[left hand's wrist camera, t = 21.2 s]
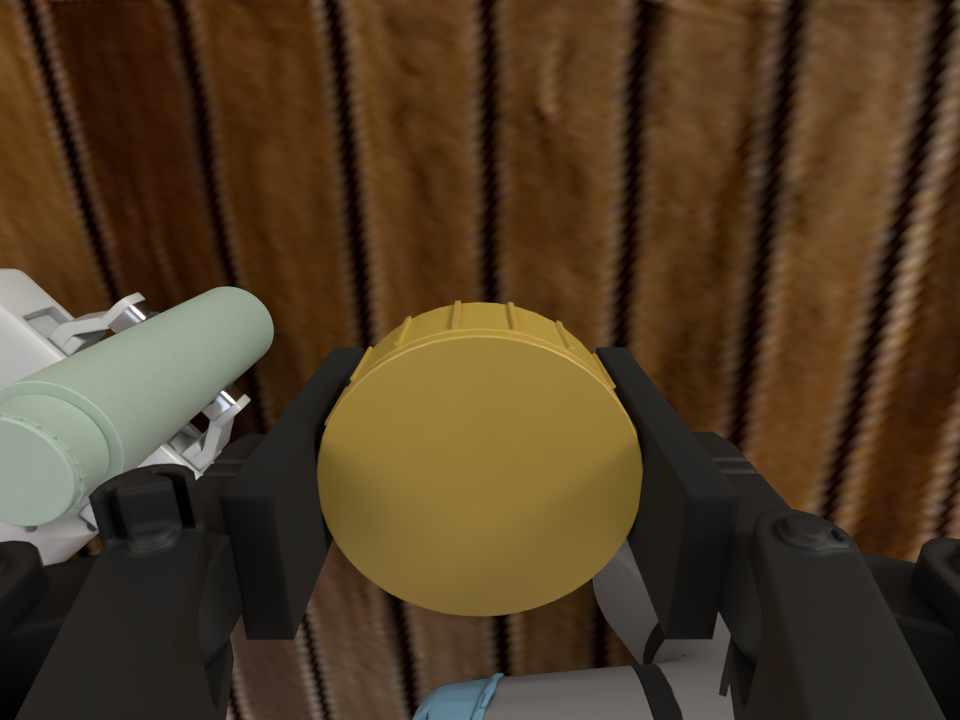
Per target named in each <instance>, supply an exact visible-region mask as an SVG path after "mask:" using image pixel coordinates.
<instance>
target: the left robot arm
mask: <svg viewBox="0 0 960 720" xmlns="http://www.w3.org/2000/svg"><path fill="white" fill-rule="evenodd" d="M596 355H597V356H598V358H599V360H600V361H601V363H602V365H603V366H604V368H605V370H606V371H607V373H608V375H609V376H610V378H611V380H612V381H613V383H614V385H615V386H616V387H615V388H614V389H613V390H614V392H615V394H616V395H617V397H618V399H619V400H620V402H621V404H622V405H623V407H624V409H625V410H626V412H627V414H628V416H629V417H630V419H631V421H632V422H633V424H634V426H635V427H636V429H637V433H638V434H637V438H638V441H639V445H640V448H641V453H642V461H643V475H642V484H641V492H640V500H639V507H638V513H637V515H636V518H635V521H634V524H633V526H632V528H631V530H630V532H629V534H628V536H627V538H626V540H625V541H624V543H623V544H622V546H621V547H620V549H619V550H618V551H617V553H616V554H615V556H614V557H613V558H612V559H611V560H610V561H609V562H608V563H607V564H606V565H605V567H604V568H603V569H602V570H601V571H599V572H598V573H597V574H596V575H595V576H594V577H592V578H591V581H592V585H593V589H594V593H595V596H596V599H597V602H598V604H599V606H600V608H601V610H602V613H603V615H604V617H605V618H606V620H607V621H608V623H609V624H610V626H611V627H612V628H613V630H614V631H615V632H616V634H617V635H618V636H619V638H620V639H621V640H622V642H623V643H624V644H625V646H626V647H627V648H628V650H629V651H630V652H631V654H632V655H633V656H634V658H635V659H636V660H637V662H638V663H639V664H640V665H634V666H620V667H608V668H597V669H586V670H575V671H564V672H552V673H541V674H530V675H519V676H507V677H505V676H504V674H502V673H496V674H494V675H493V676H492V677H491V678H487V679H480V680H473V681H467V682H460V683H453V684H447V685H444V686H441V687H439V688H437V689H435V690H434V691H432V692H431V693H430V694H429V695H428V696H427V697H426V698H425V699H424V700H423V701H422V703H421V705H420V706H419V708H418V709H417V711H416V713H415V715H414V717H413V719H412V720H960V539H953V538H938V539H931V540H929V541H928V542H926V543H925V544H924V545H922V548H921V551H920V554H919V557H918V560H917V562H916V563H912V562H907V561H902V560H897V559H892V558H887V557H882V556H877V555H872V554H868V553H864V552H860V550H859V548H858V546H857V544H856V543H855V542H854V541H853V539H852V538H851V537H850V536H849V535H848V533H846V532H845V531H843V530H842V529H841V528H839V527H838V526H836V525H835V524H833V523H832V522H830V521H827V520H825V519H823V518H821V517H818V516H816V515H814V514H810V513H806V512H802V511H799V510H795V509H791V508H790V507H789V506H788V505H787V504H786V503H785V501H784V500H783V499H782V498H781V497H780V496H779V495H778V494H777V493H776V491H775V490H774V489H773V488H772V487H771V486H770V485H769V484H768V482H767V481H766V480H765V479H764V478H763V477H762V476H761V475H760V474H757V470H756V469H755V468H754V467H753V466H752V464H751V463H750V462H747V461H746V458H745V457H744V456H743V454H742V453H741V452H740V451H739V450H738V449H737V448H736V447H735V445H734V444H732V443H730V442H729V441H727V440H725V439H724V438H722V437H720V436H719V435H717V434H715V433H713V432H691V431H690V430H689V429H688V427H687V426H686V425H685V424H684V422H683V421H682V420H681V418H680V417H679V416H678V415H677V413H676V412H675V411H674V409H673V408H672V407H671V406H670V404H669V403H668V402H667V400H666V399H665V398H664V397H663V395H662V394H661V393H660V391H659V390H658V389H657V388H656V386H655V385H654V384H653V382H652V381H651V380H650V379H649V377H648V376H647V375H646V373H645V372H644V371H643V370H642V368H641V367H640V366H639V364H638V363H637V362H636V360H635V359H634V358H633V357H632V355H631V354H630V353H629V351H628V350H627V349H626V348H596ZM363 356H364V349H363V348H333V350H332V351H331V352H330V354H329V355H328V356H327V357H326V359H325V360H324V361H323V363H322V364H321V365H320V366H319V368H318V369H317V370H316V372H315V373H314V374H313V376H312V377H311V378H310V379H309V381H308V382H307V383H306V385H305V386H304V387H303V388H302V390H301V391H300V392H299V394H298V395H297V396H296V397H295V399H294V400H293V401H292V403H291V404H290V405H289V406H288V408H287V409H286V410H285V412H284V413H283V414H282V415H281V417H280V418H279V419H278V421H277V422H276V423H275V424H274V426H273V427H272V428H271V430H270V431H269V432H268V433H267V434H246V435H244V436H243V437H241V438H239V439H238V440H236V441H234V442H233V443H231V444H229V445H228V446H226V447H225V448H224V450H223V451H222V452H221V453H220V454H219V455H218V456H217V457H216V459H215V460H214V463H213V464H210V465H209V466H208V468H207V469H206V470H205V471H204V472H203V476H200V477H199V478H198V479H197V480H196V477H195V473H194V471H193V470H191V469H190V468H189V467H187V466H185V465H180V464H174V463H166V464H153V465H148V466H144V467H139V468H135V469H132V470H129V471H127V472H124V473H122V474H119V475H116V476H114V477H112V478H111V479H109V480H107V481H106V482H104V483H102V484H101V485H99V486H98V487H97V488H96V489H95V490H94V491H93V492H92V493H91V494H90V495H89V496H88V497H89V501H90V504H91V507H92V511H93V514H94V517H95V521H96V524H97V527H98V531H99V534H100V537H101V541H102V544H103V547H102V549H101V551H100V553H99V554H98V555H94V556H90V557H85V558H80V559H75V560H70V561H65V562H60V563H55V564H50V565H45V566H44V564H43V561H42V558H41V555H40V552H39V550H38V548H37V547H36V546H35V545H33V544H32V543H30V542H26V541H16V540H12V541H5V542H0V720H226V715H227V707H228V700H229V692H230V684H231V677H232V669H233V661H234V658H233V651H232V645H231V640H230V634H231V632H232V630H233V629H234V627H235V625H236V623H237V621H238V619H239V617H240V615H241V613H242V616H243V621H244V626H245V631H246V636H247V640H279V639H294V638H295V635H296V633H297V630H298V628H299V625H300V622H301V620H302V617H303V615H304V612H305V610H306V607H307V604H308V602H309V599H310V597H311V594H312V592H313V589H314V586H315V584H316V581H317V579H318V576H319V573H320V571H321V568H322V566H323V563H324V561H325V558H326V555H327V553H328V550H329V548H330V545H331V542H332V540H333V537H332V535H331V533H330V531H329V529H328V528H327V525H326V522H325V520H324V517H323V514H322V511H321V504H320V497H319V489H318V480H317V457H318V452H319V448H320V444H321V440H322V436H323V434H324V431H325V429H326V427H327V426H324V424H325V421H326V420H327V418H328V416H329V415H330V413H331V411H332V409H333V408H334V406H335V404H336V403H337V401H338V399H339V397H340V396H341V394H342V392H343V391H344V389H345V387H346V386H347V387H348V386H349V385H350V383H351V380H350V378H351V376H352V375H353V373H354V371H355V370H356V368H357V366H358V364H359V363H360V361H361V359H362V358H363Z"/></svg>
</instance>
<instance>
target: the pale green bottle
mask: <svg viewBox="0 0 960 720" xmlns="http://www.w3.org/2000/svg"><path fill="white" fill-rule="evenodd" d="M273 335H274V327H273V322H272V319H271V316H270V314H269V312H268V310H267V309H266V307H265V306H264V305H263V303H262V302H261V301H260V300H259V299H257V298H256V297H255V296H254V295H252V294H250V293H249V292H247V291H245V290H242V289H239V288H235V287H218V288H215V289H212V290H209V291H207V292H205V293H203V294H201V295H199V296H197V297H195V298H192V299H190V300H188V301H186V302H184V303H182V304H180V305H178V306H175V307H173V308H171V309H169V310H167V311H165V312H163V313H160V314H158V315H156V316H154V317H152V318H150V319H148V320H146V321H143V322H141V323H139V324H137V325H135V326H133V327H131V328H129V329H126V330H124V331H122V332H120V333H118V334H116V335H114V336H111V337H109V338H107V339H105V340H103V341H101V342H99V343H97V344H94V345H92V346H90V347H88V348H86V349H84V350H82V351H80V352H77V353H75V354H73V355H71V356H69V357H67V358H65V359H62V360H60V361H58V362H56V363H54V364H52V365H50V366H48V367H45V368H43V369H41V370H39V371H37V372H35V373H33V374H31V375H28V376H26V377H24V378H22V379H20V380H18V381H16V382H14V383H11V384H9V385H7V386H5V387H3V388H1V389H0V522H3V523H7V524H11V525H17V526H37V525H42V524H46V523H49V522H51V521H54V520H56V519H57V518H58V519H59V518H61V517H63V516H65V515H66V514H68V513H71V512H72V511H73V510H74V509H75V508H76V507H77V506H78V505H79V504H83V503H88V502H90V501H89V497H88V496H89V495H90V494H91V493H92V492H93V491H94V490H95V489H96V488H97V487H98V486H99V485H101V484H102V483H104V482H106V481H107V480H109V479H111V478H112V477H114V476H116V475H119V474H122V473H124V472H127V471H129V470H132V469H135V468H137V467H138V466H139V465H140V464H141V463H143V462H144V461H145V460H146V459H147V458H148V457H149V456H150V455H152V454H153V453H154V452H155V451H156V450H157V449H158V448H159V447H161V446H162V445H163V444H164V443H165V442H166V441H167V440H169V439H170V438H171V437H172V436H173V435H174V434H175V433H176V432H178V431H179V430H180V429H181V428H182V427H183V426H184V425H185V424H187V423H188V422H189V421H190V420H191V419H192V418H193V417H194V416H196V415H197V414H198V413H199V412H200V411H201V410H202V409H203V408H205V407H206V406H207V405H208V404H209V403H210V402H211V401H213V400H214V399H215V397H216V396H217V395H218V394H220V393H221V392H222V391H223V390H224V389H225V388H226V387H227V386H229V385H230V384H231V383H232V382H234V381H235V380H236V379H237V378H238V377H240V376H241V375H242V374H243V373H244V372H245V371H246V370H248V369H249V368H250V367H251V366H252V365H253V364H254V363H255V362H257V361H258V360H259V359H260V358H261V357H262V356H263V355H264V354H265V353H266V352H267V351H268V349H269V348H270V346H271V344H272V341H273Z"/></svg>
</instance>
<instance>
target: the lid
mask: <svg viewBox="0 0 960 720" xmlns="http://www.w3.org/2000/svg"><path fill="white" fill-rule="evenodd" d="M350 380H351V383H350V385H349V386H348V387H347V386H346V387H345V389H344V391H343V392H342V394H341V396H340V397H339V399H338V401H337V403H336V404H335V406H334V408H333V409H332V411H331V413H330V415H329V416H328V418H327V420H326V421H325V424H324V426H327V427H326V429H325V431H324V434H323V436H322V440H321V444H320V448H319V452H318V457H317V480H318V489H319V497H320V504H321V511H322V514H323V517H324V520H325V522H326V525H327V528H328V529H329V531H330V533H331V535H332V537H333V539H334V540H335V542H336V544H337V545H338V547H339V548H340V549H341V551H342V552H343V553H344V555H345V556H346V558H347V559H348V560H349V561H350V562H351V563H352V564H353V565H354V566H355V567H356V568H357V569H358V570H359V571H360V572H361V573H362V574H363V575H365V576H366V577H367V578H368V579H369V580H371V581H372V582H373V583H374V584H376V585H378V586H379V587H381V588H382V589H384V590H385V591H387V592H388V593H390V594H392V595H394V596H396V597H398V598H400V599H402V600H404V601H406V602H409V603H412V604H414V605H417V606H420V607H423V608H426V609H430V610H434V611H438V612H442V613H448V614H455V615H462V616H496V615H505V614H511V613H517V612H522V611H526V610H529V609H533V608H537V607H540V606H542V605H545V604H547V603H550V602H553V601H555V600H557V599H559V598H561V597H563V596H565V595H567V594H569V593H571V592H573V591H574V590H576V589H577V588H579V587H580V586H582V585H583V584H585V583H586V582H588V581H589V580H590V579H591V578H592V577H594V576H595V575H596V574H597V573H598V572H599V571H601V570H602V569H603V568H604V567H605V565H606V564H607V563H608V562H609V561H610V560H611V559H612V558H613V557H614V556H615V554H616V553H617V551H618V550H619V549H620V547H621V546H622V544H623V543H624V541H625V540H626V538H627V536H628V534H629V532H630V530H631V528H632V526H633V524H634V521H635V518H636V515H637V513H638V507H639V500H640V492H641V484H642V475H643V461H642V453H641V448H640V445H639V441H638V438H637V434H638V433H637V429H636V427H635V426H634V424H633V422H632V421H631V419H630V417H629V416H628V414H627V412H626V410H625V409H624V407H623V405H622V404H621V402H620V400H619V399H618V397H617V395H616V394H615V392H614V390H613V389H614V388H615V387H616V386H615V385H614V383H613V381H612V380H611V378H610V376H609V375H608V373H607V371H606V370H605V368H604V366H603V365H602V363H601V361H600V360H599V358H598V356H597V355H596V354H595V353H593V354H592V355H591V354H590V352H589V351H588V350H587V349H586V348H585V347H584V346H583V345H582V343H581V342H580V341H578V340H577V339H576V338H575V337H574V336H573V335H571V334H570V333H569V332H568V331H567V330H565V329H564V327H563V325H562V323H561V322H560V321H558V320H557V321H556V323H554V322H553V321H551V320H549V319H547V318H545V317H543V316H540V315H538V314H536V313H534V312H531V311H528V310H525V309H521V308H518V307H514V303H511V302H508V305H503V304H498V303H479V302H477V303H464V304H461V301H455V305H451V306H446V307H441V308H438V309H435V310H432V311H429V312H426V313H423V314H421V315H419V316H417V317H415V318H413V319H412V318H411V317H410V316H409V317H407V318H406V319H405V321H404V323H403V324H402V325H400V326H399V327H397V328H396V329H395V330H393V331H392V332H390V333H389V334H388V335H387V336H386V337H385V338H383V339H382V340H381V341H380V342H379V343H378V344H377V345H376V346H375V347H374V348H372V347H371V346H370V347H369V348H368V349H367V351H366V353H365V354H364V356H363V358H362V359H361V361H360V363H359V364H358V366H357V368H356V370H355V371H354V373H353V375H352V376H351V378H350Z"/></svg>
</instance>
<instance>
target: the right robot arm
mask: <svg viewBox="0 0 960 720" xmlns="http://www.w3.org/2000/svg"><path fill="white" fill-rule="evenodd" d="M158 314H159V312H158V311H157V310H156V309H155V308H154V307H153V306H152V305H151V304H150V303H149V302H148V301H147V300H146V299H145V298H144V297H143V296H142V295H141V294H140V293H135V294H132V295H130V296H127V297H125V298H123V299H122V300H120V301H119V302H118V303H116V304H115V305H114V306H113V307H112V308H111V309H110V310H109V311H103V312H97V313H90V314H86V315H84V316H81V317H79V318H76V319H75V318H74V317H73V316H71V315H70V314H69V313H68V312H67V311H66V310H65V309H64V308H63V307H61V306H60V305H59V304H58V303H57V302H56V301H55V300H54V299H53V298H51V297H50V296H49V295H48V294H47V293H46V292H45V291H44V290H43V289H42V288H40V287H39V286H38V285H37V284H36V283H35V282H34V281H33V280H32V279H31V278H30V277H28V276H27V275H26V274H25V273H24V272H22V271H20V270H17V269H0V389H1V388H3V387H5V386H7V385H9V384H11V383H14V382H16V381H18V380H20V379H22V378H24V377H26V376H28V375H31V374H33V373H35V372H37V371H39V370H41V369H43V368H45V367H48V366H50V365H52V364H54V363H56V362H58V361H60V360H62V359H65V358H67V357H69V356H71V355H73V354H75V353H77V352H80V351H82V350H84V349H86V348H88V347H90V346H92V345H94V344H97V343H99V342H100V341H99V340H100V339H101V338H102V337H103V336H104V335H105V334H106V333H107V332H106V330H105V329H111V330H113V331H114V332H115V333H116V334H118V333H120V332H122V331H124V330H126V329H129V328H131V327H133V326H135V325H137V324H139V323H141V322H143V321H146V320H148V319H150V318H152V317H154V316H156V315H158ZM249 401H250V399H249V398H248V397H247V396H246V395H245V394H244V393H243V392H242V391H241V390H240V389H239V388H238V387H237V386H236V385H235V384H234V383H233V382H232V383H231V384H230V385H229V386H227V387H226V388H225V389H224V390H223V391H222V392H221V393H220V394H218V395H217V396H216V397H215V399H214V400H213V401H211V402H210V403H209V404H208V405H207V406H206V407H205V408H203V409H202V410H201V412H203V413H204V414H205V415H206V416H207V417H208V418H209V419H210V420H211V421H210V424H209V428H208V430H207V431H205V432H204V433H203V434H202V433H201V432H200V431H199V430H198V429H197V428H196V427H195V426H193V425H192V424H191V423H190V422H188V423H187V424H185V425H184V426H183V427H182V428H181V429H180V430H179V431H178V432H176V433H175V434H174V435H173V436H172V437H171V438H170V439H169V440H167V441H166V442H165V443H164V444H163V445H162V446H161V447H159V448H158V449H157V450H156V451H155V452H154V453H153V454H152V455H150V456H149V457H148V458H147V459H146V460H145V461H144V462H143V463H141V464H140V465H139V466H138V467H137V468H139V467H144V466H148V465H153V464H166V463H174V464H180V465H185V466H187V467H189V468H190V469H191V470H193V471H194V473H195V477H196V480H197V479H198V478H199V477H200V476H203V472H204V471H205V470H206V469H207V468H208V466H209V465H210V464H213V463H214V460H215V459H216V457H217V456H218V455H219V454H220V453H221V452H222V451H221V450H222V449H223V448H224V446H225V445H226V444H227V443H228V442H229V438H230V434H231V429H232V425H233V420H234V416H235V415H236V414H237V413H238V412H239V411H240V410H241V409H243V408H244V407H245V406H246V404H247V403H248V402H249ZM96 535H100V534H99V531H98V527H97V524H96V521H95V517H94V514H93V511H92V507H91V504H90V502H88V503H83V504H79V505H78V506H77V507H76V508H75V509H74V510H73V511H72V512H71V513H68V514H66V515H65V516H63V517H61V518H59V519H58V518H57V519H56V520H54V521H51V522H49V523H46V524H42V525H37V526H17V525H11V524H7V523H3V522H0V542H5V541H12V540H16V541H26V542H30V543H32V544H33V545H35V546H36V547H37V548H38V550H39V552H40V555H41V558H42V561H43V564H44V566H45V565H50V564H55V563H60V562H65V561H66V560H68V559H69V558H70V557H71V556H72V555H74V554H75V553H76V552H77V551H78V550H80V549H81V548H82V547H83V546H84V545H85V544H87V543H88V542H89V541H90V540H92V539H93V538H94V537H95V536H96Z"/></svg>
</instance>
